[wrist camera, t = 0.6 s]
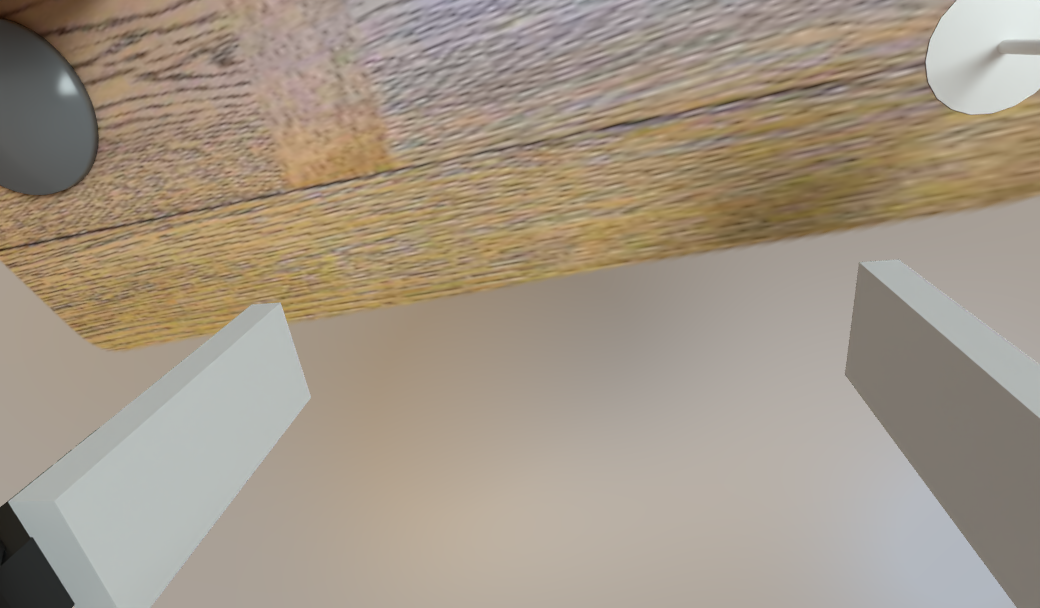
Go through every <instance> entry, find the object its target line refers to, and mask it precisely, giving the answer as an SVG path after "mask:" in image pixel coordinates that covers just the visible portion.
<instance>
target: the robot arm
mask: <svg viewBox="0 0 1040 608" xmlns="http://www.w3.org/2000/svg"><path fill="white" fill-rule="evenodd" d="M845 375H846V377H847V378H848V379H849V381H850V382H851V383H852V385H853V386H854V388H855V389H856V390H857V392H858V393H859V394H860V396H861V397H862V398H863V400H864V401H865V402H866V404H867V405H868V406H869V408H870V409H871V411H872V412H873V413H874V415H875V416H876V417H877V419H878V420H879V421H880V423H881V424H882V425H883V427H884V428H885V429H886V431H887V432H888V433H889V435H890V436H891V438H892V439H893V440H894V442H895V443H896V444H897V446H898V447H899V449H900V450H901V451H902V452H903V454H904V455H905V457H906V458H907V459H908V461H909V462H910V463H911V465H912V466H913V467H914V469H915V470H916V472H917V473H918V474H919V476H920V477H921V478H922V479H923V481H924V482H925V484H926V485H927V486H928V488H929V489H930V491H931V492H932V493H933V494H934V496H935V497H936V499H937V500H938V501H939V503H940V504H941V505H942V507H943V508H944V509H945V511H946V512H947V513H948V515H949V516H950V518H951V519H952V520H953V522H954V523H955V524H956V526H957V527H958V528H959V530H960V531H961V533H962V534H963V535H964V537H965V538H966V539H967V541H968V542H969V543H970V545H971V546H972V547H973V549H974V550H975V551H976V553H977V554H978V556H979V557H980V558H981V560H982V561H983V562H984V564H985V565H986V566H987V568H988V569H989V570H990V572H991V573H992V575H993V576H994V577H995V579H996V580H997V581H998V583H999V584H1000V585H1001V586H1002V588H1003V589H1004V591H1005V592H1006V593H1007V595H1008V596H1009V598H1010V599H1011V600H1012V602H1013V603H1014V604H1015V606H1016V607H1017V608H1040V364H1038V363H1037V362H1036V361H1034V360H1033V359H1032V358H1030V357H1029V356H1028V355H1026V354H1025V353H1024V352H1022V351H1021V350H1020V349H1018V348H1017V347H1016V346H1014V345H1013V344H1012V343H1010V342H1009V341H1008V340H1006V339H1005V338H1004V337H1002V336H1001V335H1000V334H998V333H997V332H995V331H994V330H993V329H991V328H990V327H989V326H987V325H986V324H985V323H983V322H982V321H980V320H979V319H978V318H976V317H975V316H974V315H973V314H971V313H970V312H969V311H967V310H966V309H965V308H963V307H962V306H961V305H959V304H958V303H957V302H955V301H954V300H953V299H951V298H950V297H948V296H947V295H946V294H944V293H943V292H942V291H940V290H939V289H938V288H936V287H935V286H934V285H932V284H931V283H930V282H928V281H927V280H926V279H924V278H923V277H921V276H920V275H919V274H917V273H916V272H915V271H914V270H912V269H911V268H910V267H908V266H907V265H905V264H904V263H903V262H901V261H900V260H885V261H870V262H859V268H858V275H857V283H856V292H855V299H854V307H853V315H852V323H851V331H850V339H849V346H848V354H847V362H846V370H845ZM310 398H311V396H310V393H309V390H308V386H307V384H306V380H305V378H304V374H303V371H302V368H301V365H300V362H299V359H298V355H297V352H296V349H295V346H294V343H293V340H292V337H291V334H290V331H289V327H288V324H287V321H286V318H285V315H284V312H283V309H282V306H281V303H268V304H254V305H251V306H249V307H248V308H247V309H246V310H244V311H243V312H242V313H241V314H240V315H238V316H237V317H236V318H235V319H233V320H232V321H231V322H230V323H228V324H227V325H226V326H225V327H223V328H222V329H221V330H220V331H219V332H217V333H216V334H215V335H214V336H212V337H211V338H210V339H209V340H207V341H206V342H205V343H204V344H203V345H201V346H200V347H199V348H197V349H196V350H195V351H194V352H193V353H191V354H190V355H189V356H188V357H186V358H185V359H184V360H183V361H181V362H180V363H179V364H178V365H176V366H175V367H174V368H173V369H171V370H170V371H169V372H168V373H167V374H165V375H164V376H163V377H162V378H160V379H159V380H158V381H157V382H156V383H154V384H153V385H152V386H151V387H150V388H148V389H147V390H146V391H144V392H143V393H142V394H141V395H139V396H138V397H137V398H136V399H134V400H133V401H132V402H131V403H130V404H128V405H127V406H126V407H124V408H123V409H122V410H121V411H120V412H118V413H117V414H116V415H115V416H113V417H112V418H111V419H110V420H108V421H107V422H106V423H105V424H103V425H102V426H101V427H99V428H98V429H97V430H95V431H94V432H93V433H92V434H90V435H89V436H88V437H87V438H86V439H84V440H83V441H82V442H81V443H79V444H78V445H77V446H76V447H75V448H74V449H73V450H71V451H69V452H68V453H67V454H66V455H64V456H63V457H62V458H61V459H59V460H58V461H57V462H56V463H55V464H54V465H52V466H51V467H50V468H48V469H47V470H46V471H45V472H43V473H42V474H41V475H40V476H38V477H37V478H36V479H35V480H34V481H32V482H31V483H30V484H29V485H27V486H26V487H25V488H24V489H22V490H21V491H20V492H19V493H17V494H16V495H15V496H14V497H13V498H11V499H10V500H9V501H8V502H6V503H5V504H4V505H2V506H1V507H0V608H72V607H73V606H74V607H75V608H151V606H152V605H153V604H154V602H155V601H156V600H157V599H158V597H159V596H160V595H161V593H162V592H163V591H164V589H165V588H166V587H167V585H168V584H169V583H170V582H171V580H172V579H173V578H174V576H175V575H176V574H177V572H178V571H179V570H180V568H181V567H182V566H183V564H184V563H185V562H186V561H187V559H188V558H189V557H190V555H191V554H192V553H193V551H194V550H195V549H196V547H197V546H198V544H200V542H201V541H202V540H203V538H204V537H205V536H206V534H207V533H208V532H209V530H210V529H211V528H212V526H213V525H214V524H215V523H216V521H217V520H218V519H219V517H220V516H221V515H222V513H223V512H224V511H225V509H226V508H227V507H228V506H229V504H230V503H231V502H232V500H233V499H234V498H235V496H236V495H237V494H238V492H239V491H240V489H241V488H242V487H243V486H244V485H245V483H246V482H247V481H248V479H249V478H250V477H251V475H252V474H253V473H254V471H255V470H256V469H257V468H258V466H259V465H260V463H261V462H262V461H263V460H264V458H265V457H266V456H267V454H268V453H269V452H270V450H271V449H272V448H273V447H274V445H275V444H276V443H277V441H278V440H279V439H280V437H281V436H282V435H283V433H284V432H285V431H286V429H287V428H288V427H289V425H290V424H291V423H292V422H293V420H294V419H295V418H296V416H297V415H298V413H299V412H300V411H301V410H302V408H303V407H304V406H305V405H306V403H307V402H308V401H309V399H310Z"/></svg>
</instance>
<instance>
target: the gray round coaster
mask: <svg viewBox="0 0 1040 608" xmlns="http://www.w3.org/2000/svg"><path fill="white" fill-rule="evenodd" d="M97 149H98V125H97V120H96V115H95V111H94V108H93V105H92V102H91V100H90V97H89V95H88V93H87V91H86V89H85V87H84V85H83V83H82V81H81V80H80V78H79V76H78V75H77V74H76V72H75V71H74V69H73V68H72V66H71V65H70V64H69V63H68V62H67V60H66V59H65V58H64V57H63V56H62V55H61V54H60V53H59V52H58V51H57V50H56V49H55V48H54V47H53V46H52V45H51V44H50V43H49V42H47V41H46V40H45V39H44V38H42V37H41V36H39V35H38V34H36V33H35V32H33V31H32V30H30V29H28V28H26V27H24V26H23V25H21V24H18V23H15V22H13V21H10V20H7V19H3V18H0V185H1V186H3V187H5V188H8V189H10V190H13V191H16V192H20V193H24V194H31V195H46V194H52V193H56V192H59V191H63V190H66V189H69V188H71V187H73V186H74V185H76V184H78V183H79V182H80V181H81V180H83V179H84V177H85V176H86V175H87V174H88V173H89V171H90V169H91V168H92V166H93V164H94V161H95V158H96V154H97Z"/></svg>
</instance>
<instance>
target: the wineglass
mask: <svg viewBox="0 0 1040 608" xmlns="http://www.w3.org/2000/svg"><path fill="white" fill-rule="evenodd" d="M926 70H927V78H928V83H929V85H930V86H931V88H932V90H933V92H934V94H935V95H936V97H937V99H939V100H940V101H941V102H943V103H944V104H945V105H947V106H948V107H949V108H951V109H952V110H956V111H959V112H963V113H967V114H970V115H972V114H991V113H995V112H998V111H1001V110H1004V109H1007V108H1010V107H1013V106H1015V105H1017V104H1018V103H1020V102H1021V101H1023V100H1024V99H1026V98H1028V97H1029V96H1031V95H1032V94H1034V93H1036V91H1037V90H1038V89H1039V88H1040V0H956V2H955V3H954V4H953V5H952V6H951V7H950V8H949V10H948V11H947V12H946V13H945V14H944V15H943V16H942V18H941V19H940V21H939V23H938V25H937V27H936V29H935V31H934V33H933V35H932V37H931V39H930V42H929V47H928V52H927V57H926Z"/></svg>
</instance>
